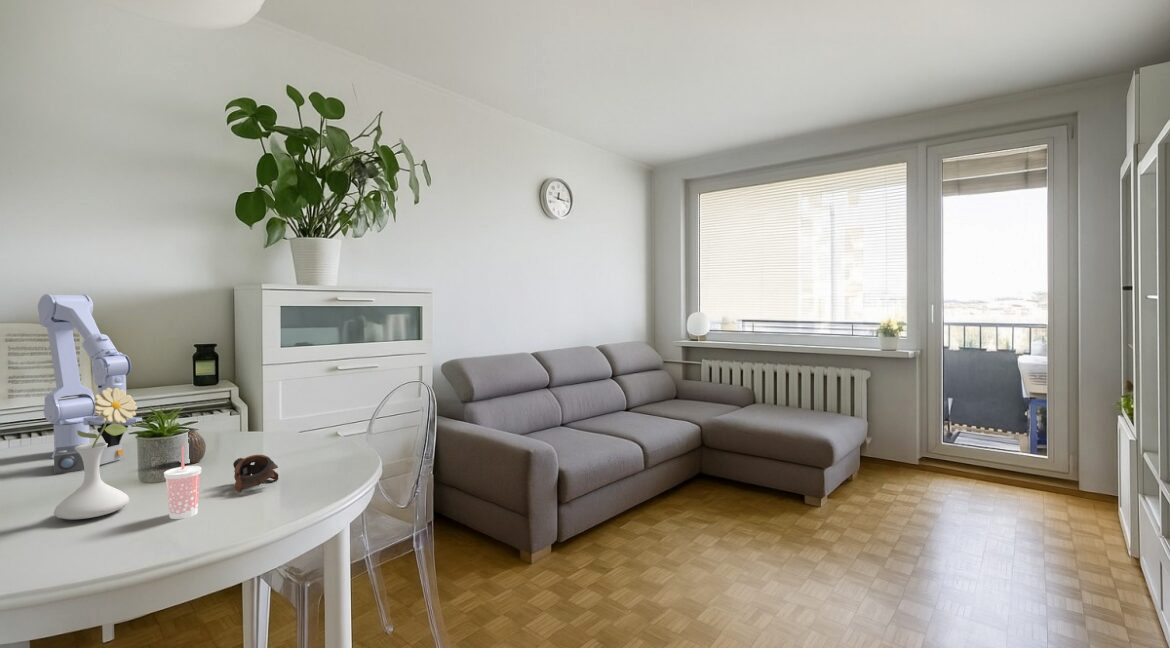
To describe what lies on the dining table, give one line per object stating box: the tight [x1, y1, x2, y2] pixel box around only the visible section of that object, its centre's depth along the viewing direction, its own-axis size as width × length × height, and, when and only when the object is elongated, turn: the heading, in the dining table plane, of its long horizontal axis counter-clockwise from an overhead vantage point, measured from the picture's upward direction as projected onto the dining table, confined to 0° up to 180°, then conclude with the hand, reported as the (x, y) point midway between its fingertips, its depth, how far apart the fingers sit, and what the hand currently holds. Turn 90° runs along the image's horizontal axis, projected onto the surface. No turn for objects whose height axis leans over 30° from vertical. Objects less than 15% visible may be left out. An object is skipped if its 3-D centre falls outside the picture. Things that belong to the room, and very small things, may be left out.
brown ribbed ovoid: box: [188, 428, 207, 465], centre depth 147 cm, size 7×7×9 cm
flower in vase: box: [53, 388, 138, 520], centre depth 112 cm, size 13×11×25 cm
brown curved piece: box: [232, 454, 279, 493], centre depth 129 cm, size 12×10×8 cm
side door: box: [99, 443, 124, 466], centre depth 145 cm, size 8×1×4 cm, turn 171°
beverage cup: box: [163, 445, 202, 520], centre depth 111 cm, size 6×6×14 cm
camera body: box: [53, 444, 84, 474], centre depth 142 cm, size 11×6×5 cm, turn 41°
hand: (113, 452), depth 148 cm, fingers closed, pressing on side door
